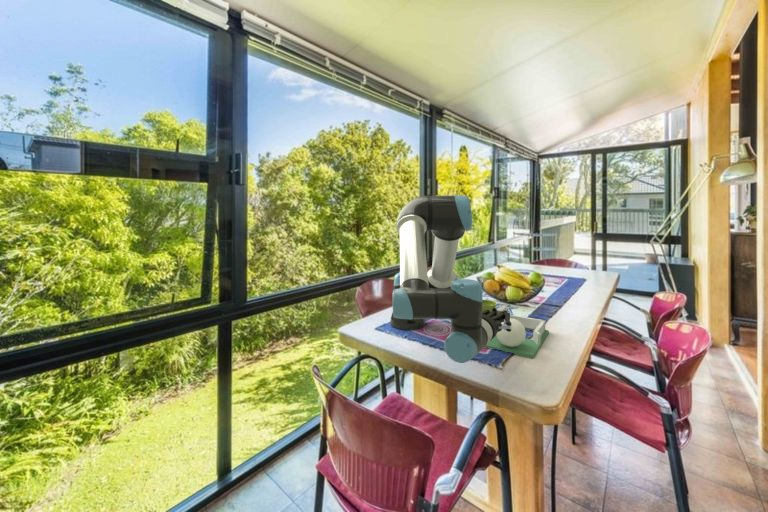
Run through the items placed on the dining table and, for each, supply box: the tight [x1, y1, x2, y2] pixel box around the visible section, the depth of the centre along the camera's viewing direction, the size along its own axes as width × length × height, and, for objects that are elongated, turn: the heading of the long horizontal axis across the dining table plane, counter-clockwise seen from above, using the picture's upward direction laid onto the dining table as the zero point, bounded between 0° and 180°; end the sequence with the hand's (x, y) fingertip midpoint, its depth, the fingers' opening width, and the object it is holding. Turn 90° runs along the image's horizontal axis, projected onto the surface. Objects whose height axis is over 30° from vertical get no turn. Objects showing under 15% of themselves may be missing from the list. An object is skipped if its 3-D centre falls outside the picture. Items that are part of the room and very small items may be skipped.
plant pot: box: [482, 299, 498, 312], centre depth 150 cm, size 9×9×9 cm
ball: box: [496, 318, 527, 347], centre depth 121 cm, size 10×10×10 cm
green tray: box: [484, 314, 550, 359], centre depth 129 cm, size 17×28×5 cm, turn 145°
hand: (505, 309), depth 112 cm, fingers closed
